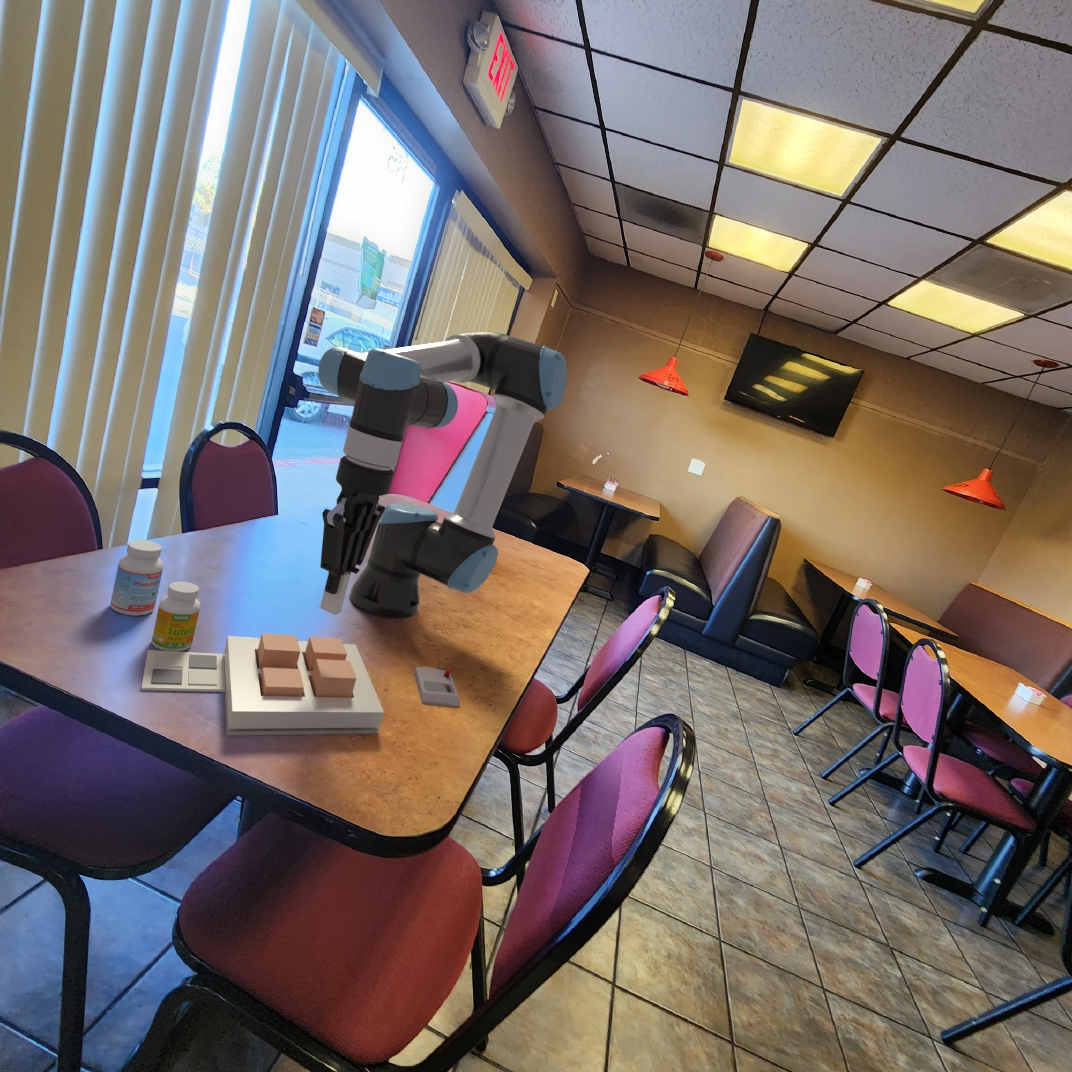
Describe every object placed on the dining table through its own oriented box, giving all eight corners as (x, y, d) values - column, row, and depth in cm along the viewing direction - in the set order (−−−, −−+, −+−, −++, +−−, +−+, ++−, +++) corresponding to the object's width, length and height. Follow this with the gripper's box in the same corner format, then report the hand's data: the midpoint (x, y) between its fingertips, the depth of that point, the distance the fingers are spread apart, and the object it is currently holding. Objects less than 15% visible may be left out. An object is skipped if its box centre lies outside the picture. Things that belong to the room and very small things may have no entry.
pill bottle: (132, 620, 93) (145, 555, 90) (100, 606, 93) (112, 541, 91) (163, 610, 98) (176, 548, 96) (132, 597, 99) (144, 535, 97)
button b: (291, 654, 92) (296, 635, 92) (295, 671, 88) (300, 651, 87) (256, 652, 90) (261, 632, 89) (259, 669, 86) (264, 649, 85)
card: (222, 656, 91) (223, 652, 91) (224, 692, 83) (225, 688, 83) (147, 652, 86) (148, 648, 86) (141, 690, 78) (141, 686, 78)
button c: (344, 680, 90) (349, 660, 90) (350, 698, 86) (356, 678, 86) (310, 678, 88) (316, 659, 87) (315, 697, 84) (321, 677, 83)
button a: (293, 688, 87) (299, 668, 86) (298, 708, 83) (304, 687, 82) (257, 688, 84) (262, 667, 84) (260, 708, 80) (265, 686, 79)
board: (350, 662, 102) (355, 644, 101) (377, 733, 86) (384, 712, 85) (222, 656, 91) (227, 635, 91) (226, 735, 75) (232, 711, 74)
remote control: (422, 712, 96) (427, 696, 95) (410, 664, 110) (414, 650, 109) (460, 716, 99) (466, 701, 98) (443, 668, 113) (448, 655, 112)
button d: (335, 657, 96) (341, 638, 95) (341, 673, 92) (347, 654, 91) (304, 655, 93) (309, 636, 93) (308, 671, 89) (314, 652, 89)
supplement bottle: (162, 655, 86) (175, 596, 85) (144, 638, 89) (156, 580, 87) (198, 648, 91) (211, 592, 89) (180, 633, 94) (192, 578, 92)
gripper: (370, 452, 90) (334, 590, 95) (318, 453, 77) (280, 612, 83) (412, 468, 88) (374, 608, 94) (366, 472, 76) (325, 633, 81)
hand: (330, 610), depth 88 cm, fingers closed
